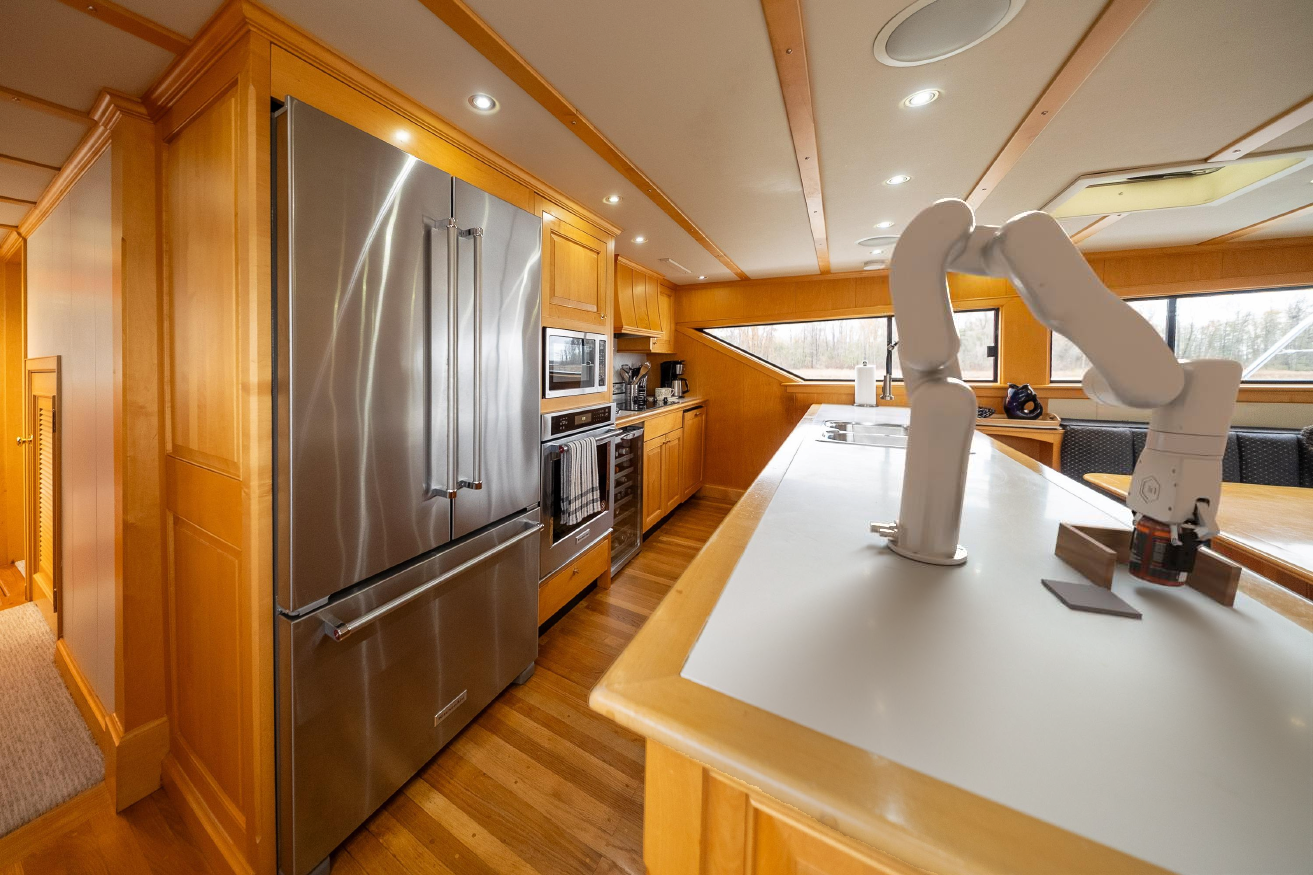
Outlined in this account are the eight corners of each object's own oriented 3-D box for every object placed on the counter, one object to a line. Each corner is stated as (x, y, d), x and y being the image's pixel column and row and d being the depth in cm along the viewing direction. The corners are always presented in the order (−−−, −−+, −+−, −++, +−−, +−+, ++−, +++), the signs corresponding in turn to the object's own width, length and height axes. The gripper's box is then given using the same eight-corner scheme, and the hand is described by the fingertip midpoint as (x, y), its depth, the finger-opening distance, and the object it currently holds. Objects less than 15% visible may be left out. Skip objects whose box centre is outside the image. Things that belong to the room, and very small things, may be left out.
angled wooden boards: (1102, 589, 69) (1109, 552, 68) (1054, 553, 82) (1059, 522, 81) (1232, 606, 64) (1242, 567, 63) (1159, 566, 77) (1166, 533, 76)
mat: (1069, 607, 63) (1070, 603, 63) (1041, 582, 71) (1041, 578, 71) (1141, 618, 61) (1142, 614, 61) (1104, 590, 68) (1105, 587, 68)
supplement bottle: (1197, 591, 65) (1215, 516, 63) (1148, 586, 66) (1164, 513, 64) (1160, 572, 71) (1175, 503, 69) (1116, 568, 72) (1130, 500, 70)
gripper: (1112, 434, 74) (1093, 537, 77) (1200, 453, 58) (1171, 583, 61) (1170, 437, 72) (1148, 543, 75) (1278, 458, 56) (1245, 592, 59)
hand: (1159, 560), depth 68 cm, fingers closed on supplement bottle, 5 cm apart
